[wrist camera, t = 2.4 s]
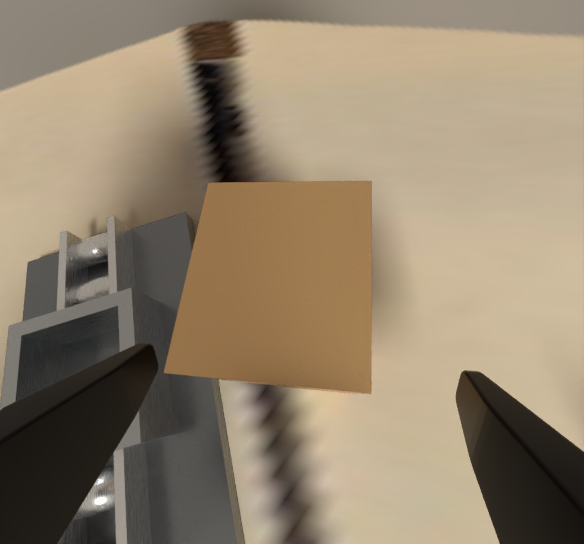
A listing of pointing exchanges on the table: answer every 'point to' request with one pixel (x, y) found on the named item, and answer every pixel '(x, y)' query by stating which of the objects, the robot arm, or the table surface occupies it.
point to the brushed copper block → (279, 287)
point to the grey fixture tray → (159, 400)
